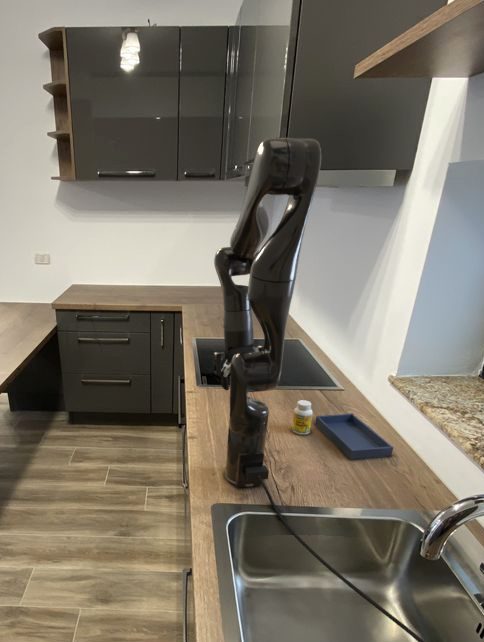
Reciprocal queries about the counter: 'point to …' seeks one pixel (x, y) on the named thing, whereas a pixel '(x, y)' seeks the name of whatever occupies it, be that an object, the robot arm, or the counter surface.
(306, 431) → the supplement bottle
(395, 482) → the counter surface
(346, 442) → the tray
